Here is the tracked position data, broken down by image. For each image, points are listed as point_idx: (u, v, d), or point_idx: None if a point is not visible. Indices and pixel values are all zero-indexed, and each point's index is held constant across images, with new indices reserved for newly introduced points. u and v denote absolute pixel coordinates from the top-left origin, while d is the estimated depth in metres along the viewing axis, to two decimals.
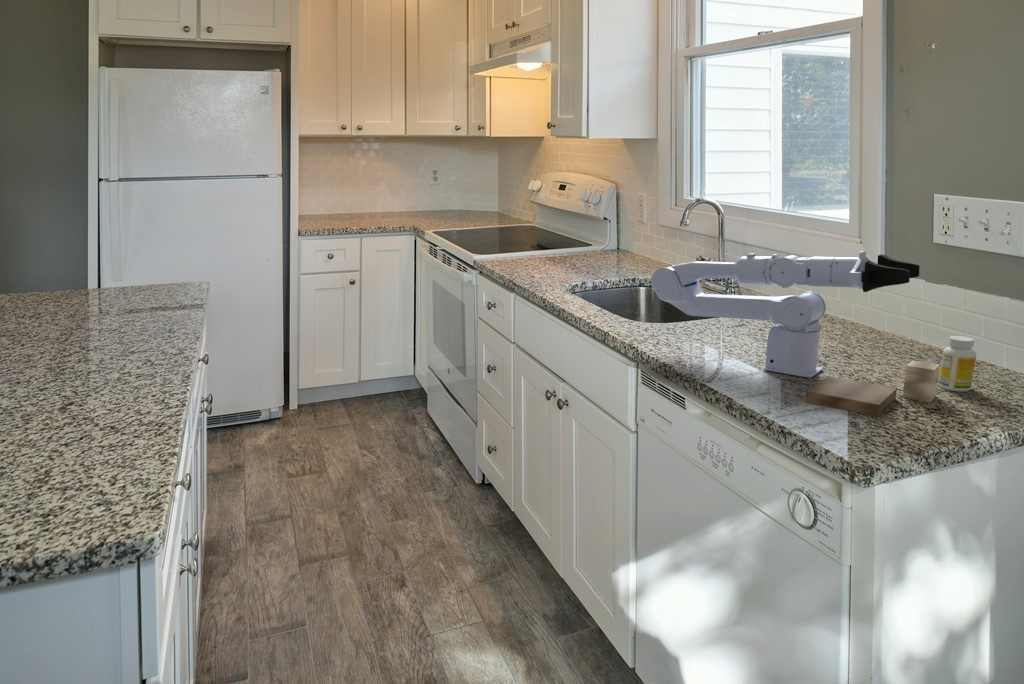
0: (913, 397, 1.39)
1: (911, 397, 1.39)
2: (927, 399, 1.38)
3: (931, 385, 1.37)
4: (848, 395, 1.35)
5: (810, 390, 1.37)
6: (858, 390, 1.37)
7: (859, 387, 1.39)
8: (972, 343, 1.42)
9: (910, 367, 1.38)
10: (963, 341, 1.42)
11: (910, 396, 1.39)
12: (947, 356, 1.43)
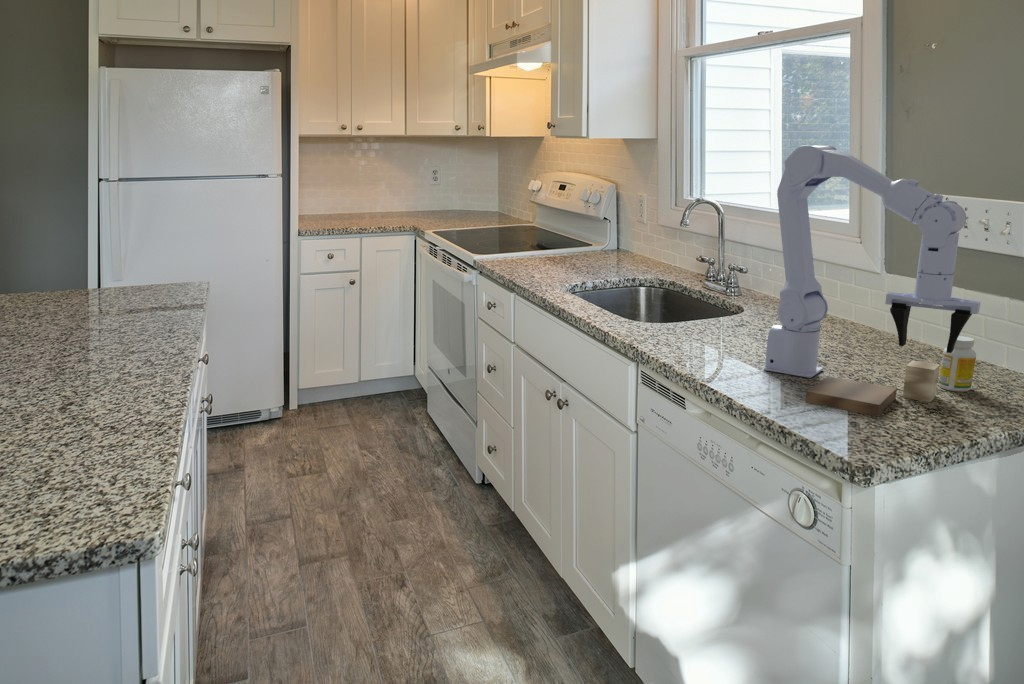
0: (913, 397, 1.39)
1: (911, 397, 1.39)
2: (927, 399, 1.38)
3: (931, 385, 1.37)
4: (848, 395, 1.35)
5: (810, 390, 1.37)
6: (858, 390, 1.37)
7: (859, 387, 1.39)
8: (972, 343, 1.42)
9: (910, 367, 1.38)
10: (963, 341, 1.42)
11: (910, 396, 1.39)
12: (947, 356, 1.43)
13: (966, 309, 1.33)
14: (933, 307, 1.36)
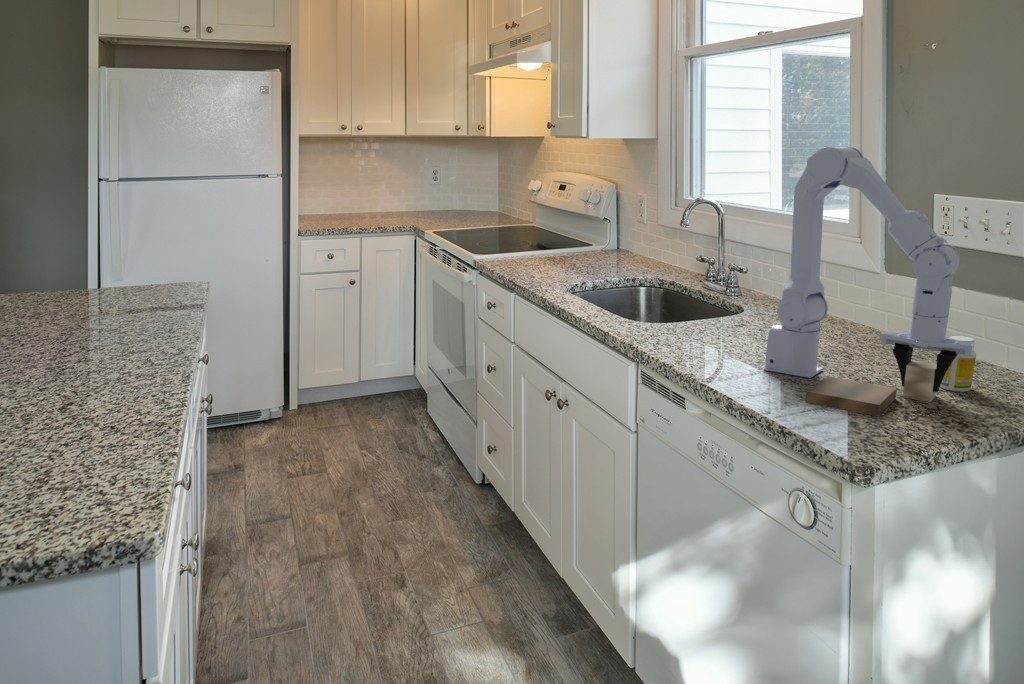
0: (913, 397, 1.39)
1: (911, 397, 1.39)
2: (927, 399, 1.38)
3: (931, 384, 1.37)
4: (848, 395, 1.35)
5: (810, 390, 1.37)
6: (858, 390, 1.37)
7: (859, 387, 1.39)
8: None
9: (910, 367, 1.38)
10: (963, 341, 1.42)
11: (910, 395, 1.39)
12: None
13: (960, 351, 1.35)
14: (927, 348, 1.38)
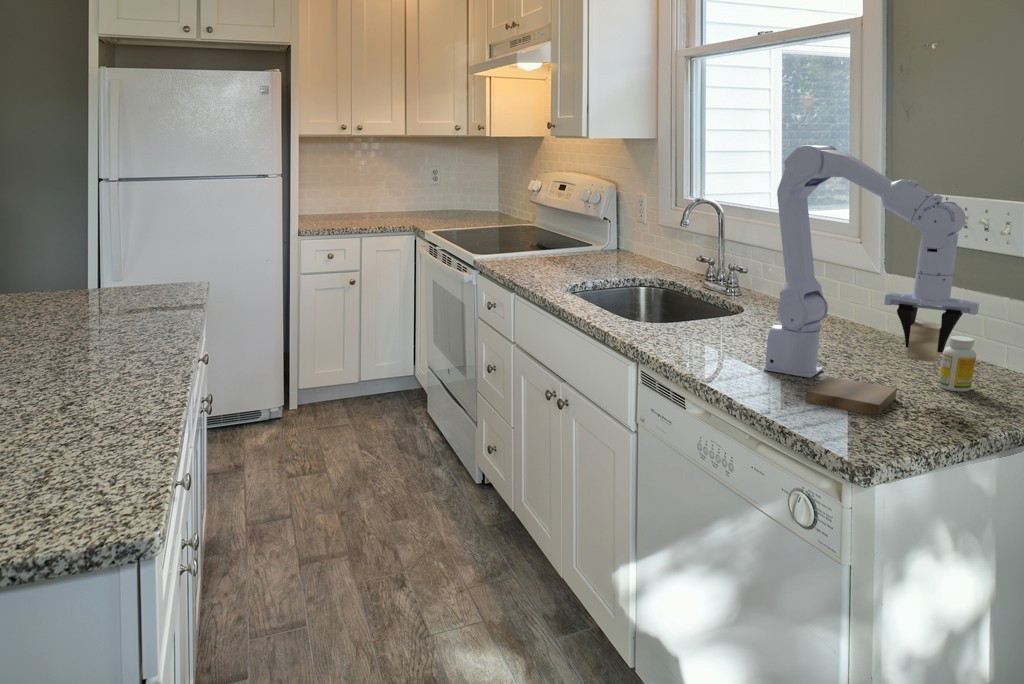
0: (917, 357, 1.37)
1: (915, 357, 1.37)
2: (932, 359, 1.36)
3: (936, 344, 1.35)
4: (848, 395, 1.35)
5: (810, 390, 1.37)
6: (858, 390, 1.37)
7: (859, 387, 1.39)
8: (972, 343, 1.42)
9: (914, 327, 1.37)
10: (963, 341, 1.42)
11: (914, 356, 1.38)
12: (947, 356, 1.43)
13: (965, 310, 1.33)
14: (932, 308, 1.36)
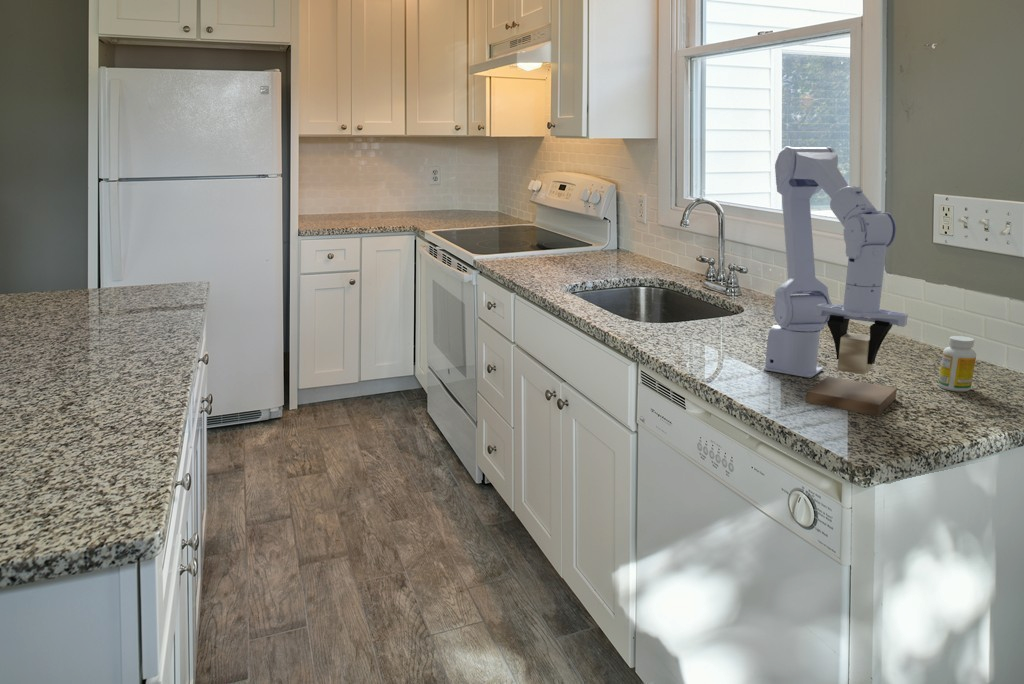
0: (848, 369, 1.35)
1: (846, 369, 1.36)
2: (861, 371, 1.34)
3: (865, 356, 1.33)
4: (848, 395, 1.35)
5: (810, 390, 1.37)
6: (858, 390, 1.37)
7: (859, 387, 1.39)
8: (972, 343, 1.42)
9: (844, 338, 1.35)
10: (963, 341, 1.42)
11: (845, 368, 1.36)
12: (947, 356, 1.43)
13: (893, 321, 1.31)
14: (862, 319, 1.34)
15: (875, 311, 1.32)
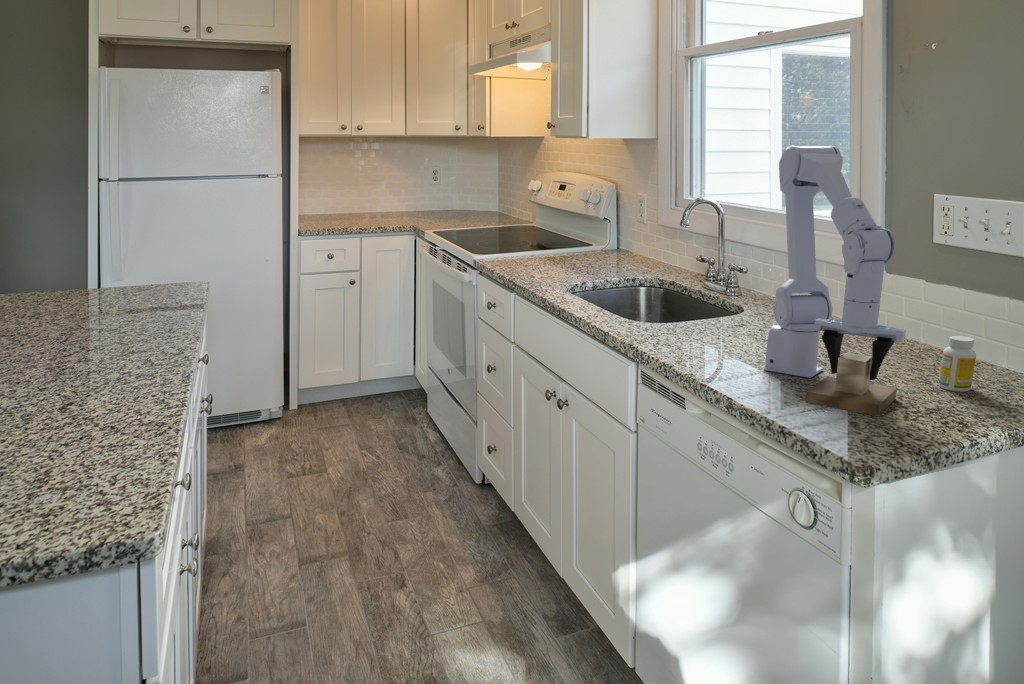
0: (845, 390, 1.36)
1: (843, 390, 1.37)
2: (859, 392, 1.35)
3: (863, 377, 1.34)
4: (848, 395, 1.35)
5: (810, 390, 1.37)
6: None
7: None
8: (972, 343, 1.42)
9: (842, 359, 1.36)
10: (963, 341, 1.42)
11: (842, 388, 1.37)
12: (947, 356, 1.43)
13: (891, 337, 1.32)
14: (860, 334, 1.35)
15: (873, 327, 1.33)
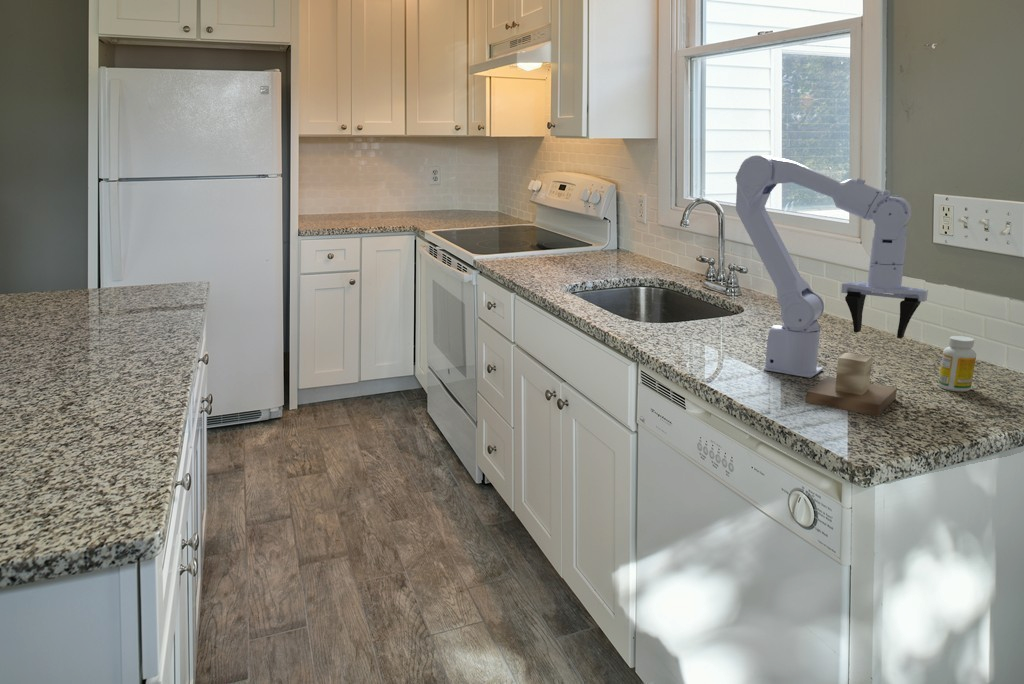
0: (845, 390, 1.36)
1: (843, 390, 1.37)
2: (859, 392, 1.35)
3: (863, 377, 1.34)
4: (848, 395, 1.35)
5: (810, 390, 1.37)
6: None
7: None
8: (972, 343, 1.42)
9: (842, 359, 1.36)
10: (963, 341, 1.42)
11: (842, 388, 1.37)
12: (947, 356, 1.43)
13: (914, 297, 1.42)
14: (885, 295, 1.45)
15: (897, 287, 1.42)
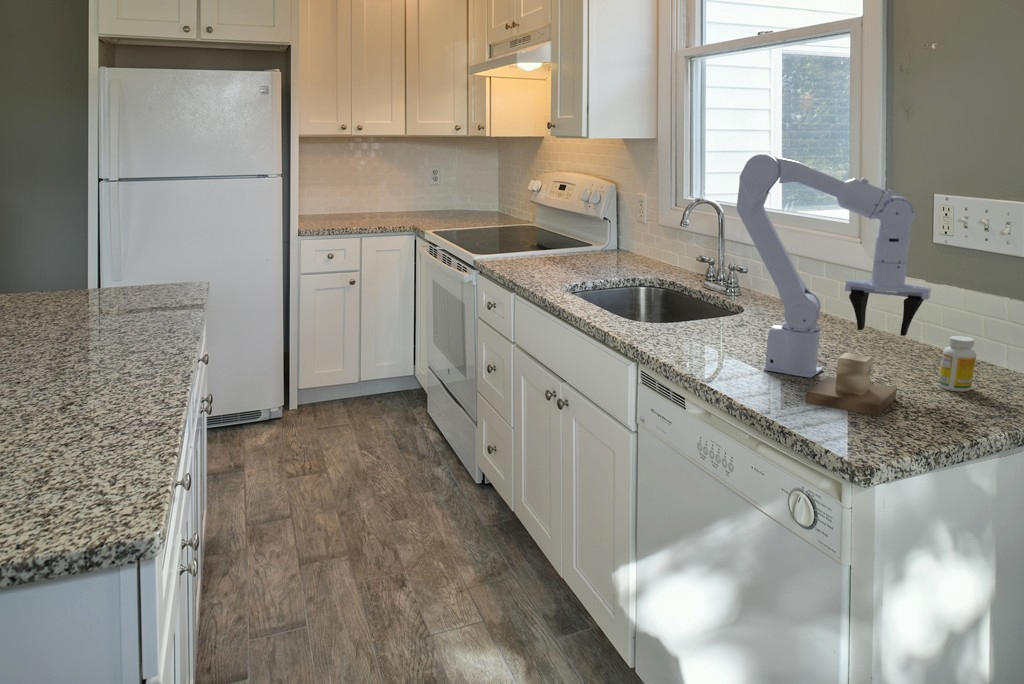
0: (845, 390, 1.36)
1: (843, 390, 1.37)
2: (859, 392, 1.35)
3: (863, 377, 1.34)
4: (848, 395, 1.35)
5: (810, 390, 1.37)
6: None
7: None
8: (972, 343, 1.42)
9: (842, 359, 1.36)
10: (963, 341, 1.42)
11: (842, 388, 1.37)
12: (947, 356, 1.43)
13: (918, 295, 1.44)
14: (888, 293, 1.47)
15: (901, 286, 1.44)
